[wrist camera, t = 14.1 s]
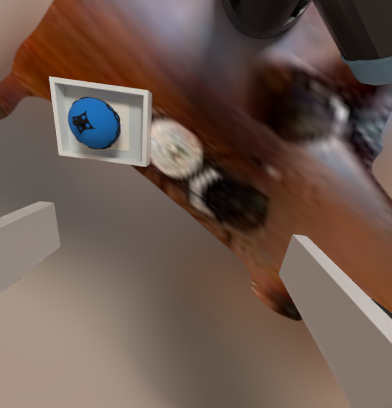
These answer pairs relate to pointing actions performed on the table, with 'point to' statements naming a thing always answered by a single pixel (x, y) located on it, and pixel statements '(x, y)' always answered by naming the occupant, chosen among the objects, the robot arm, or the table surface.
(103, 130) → the ornament
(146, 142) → the bin
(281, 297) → the table surface
